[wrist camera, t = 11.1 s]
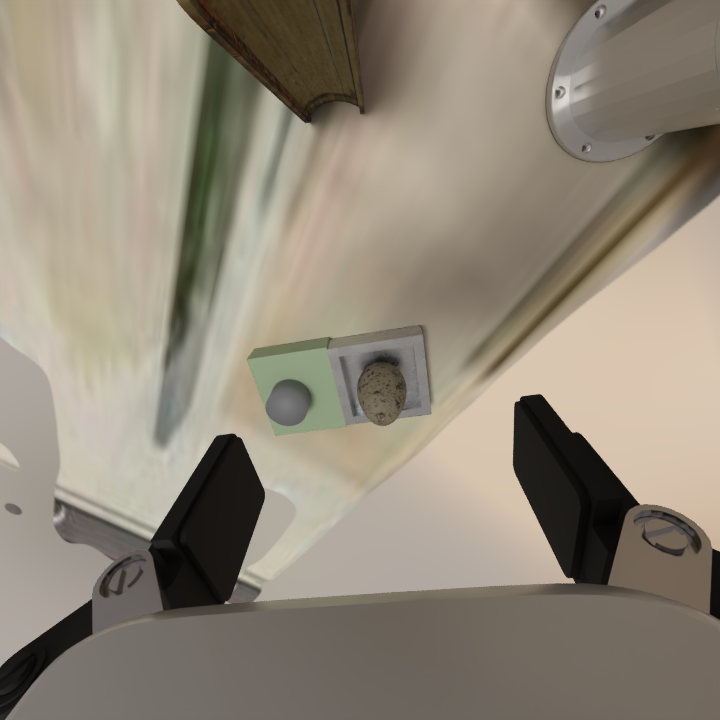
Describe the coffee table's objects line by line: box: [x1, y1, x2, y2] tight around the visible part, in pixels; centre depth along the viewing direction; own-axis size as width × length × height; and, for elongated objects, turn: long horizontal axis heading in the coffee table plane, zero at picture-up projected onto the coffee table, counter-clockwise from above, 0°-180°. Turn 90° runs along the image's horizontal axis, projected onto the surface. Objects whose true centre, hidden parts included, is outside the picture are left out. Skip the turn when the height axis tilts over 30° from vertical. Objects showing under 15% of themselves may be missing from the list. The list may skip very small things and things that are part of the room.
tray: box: [327, 325, 431, 425], centre depth 44 cm, size 11×11×3 cm
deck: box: [247, 337, 347, 436], centre depth 43 cm, size 10×12×6 cm
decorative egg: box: [357, 362, 407, 426], centre depth 40 cm, size 6×6×10 cm
